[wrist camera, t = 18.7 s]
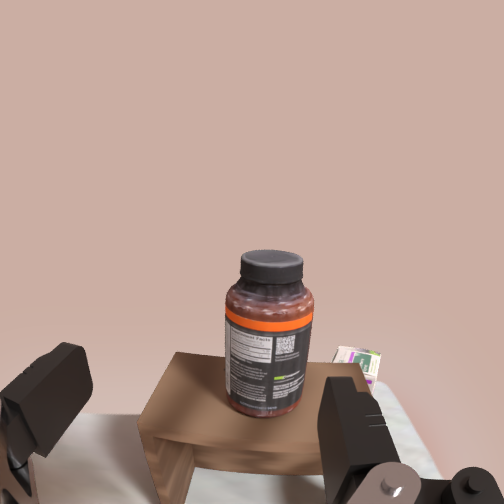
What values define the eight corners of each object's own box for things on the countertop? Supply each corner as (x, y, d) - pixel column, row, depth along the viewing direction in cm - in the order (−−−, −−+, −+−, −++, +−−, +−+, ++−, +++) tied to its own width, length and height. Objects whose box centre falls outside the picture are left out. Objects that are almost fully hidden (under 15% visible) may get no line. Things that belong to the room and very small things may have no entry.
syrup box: (351, 461, 32) (380, 376, 29) (309, 452, 35) (328, 366, 32) (358, 434, 38) (384, 351, 34) (320, 426, 40) (338, 343, 37)
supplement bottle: (259, 367, 27) (266, 242, 24) (315, 394, 23) (336, 257, 20) (208, 396, 22) (206, 253, 20) (268, 434, 19) (283, 275, 16)
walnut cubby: (168, 524, 22) (136, 422, 18) (188, 461, 32) (176, 351, 29) (335, 535, 21) (388, 437, 17) (327, 470, 31) (358, 362, 28)
